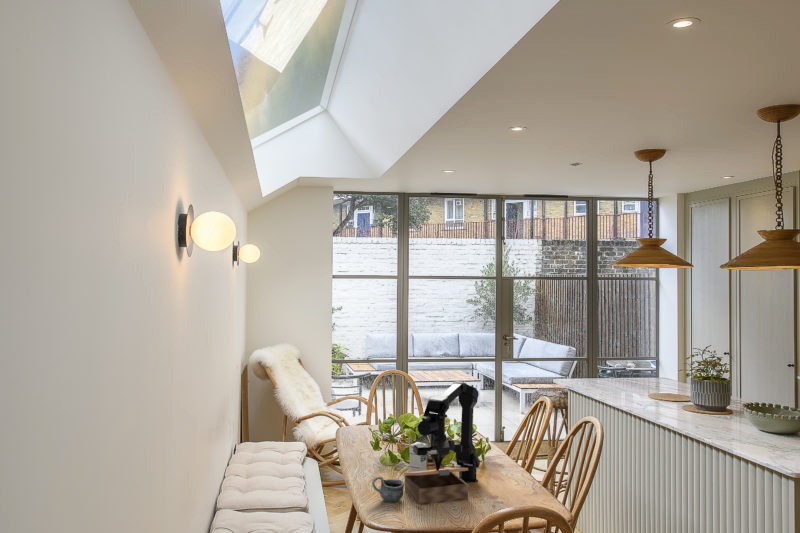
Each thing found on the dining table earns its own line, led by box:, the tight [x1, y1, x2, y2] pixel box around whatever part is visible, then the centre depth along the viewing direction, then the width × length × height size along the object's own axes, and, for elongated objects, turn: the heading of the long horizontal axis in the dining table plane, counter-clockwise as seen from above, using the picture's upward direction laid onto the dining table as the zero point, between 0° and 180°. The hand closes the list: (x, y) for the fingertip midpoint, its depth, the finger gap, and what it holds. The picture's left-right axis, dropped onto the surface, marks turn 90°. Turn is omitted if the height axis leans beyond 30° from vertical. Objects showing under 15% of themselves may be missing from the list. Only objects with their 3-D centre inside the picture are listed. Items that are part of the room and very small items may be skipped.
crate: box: [404, 472, 469, 506], centre depth 244 cm, size 20×18×6 cm
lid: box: [404, 467, 468, 476], centre depth 244 cm, size 20×19×2 cm
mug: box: [371, 475, 405, 503], centre depth 237 cm, size 10×12×10 cm
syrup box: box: [408, 441, 429, 472], centre depth 266 cm, size 6×6×14 cm
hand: (437, 470), depth 243 cm, fingers closed, pressing on lid
